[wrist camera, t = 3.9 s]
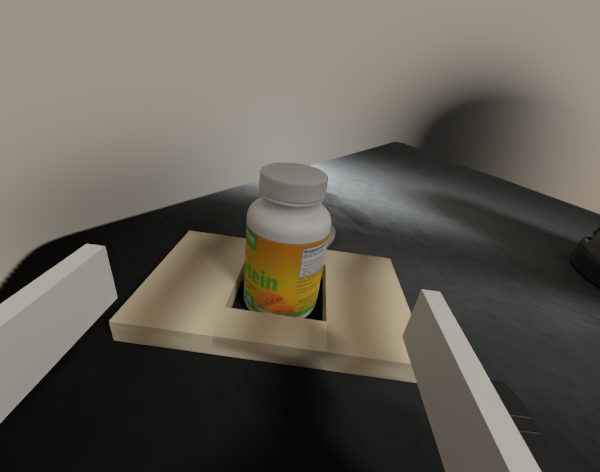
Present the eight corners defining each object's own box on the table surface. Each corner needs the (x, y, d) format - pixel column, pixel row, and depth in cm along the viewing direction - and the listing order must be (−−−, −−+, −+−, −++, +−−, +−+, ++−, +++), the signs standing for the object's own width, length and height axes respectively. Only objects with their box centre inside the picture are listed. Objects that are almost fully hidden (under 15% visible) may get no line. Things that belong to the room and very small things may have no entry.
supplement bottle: (228, 295, 21) (228, 164, 16) (281, 269, 25) (293, 156, 20) (278, 339, 18) (295, 195, 14) (330, 302, 22) (358, 178, 17)
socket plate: (385, 272, 26) (390, 258, 26) (422, 383, 17) (431, 366, 16) (190, 244, 26) (189, 230, 26) (113, 340, 17) (108, 321, 16)
